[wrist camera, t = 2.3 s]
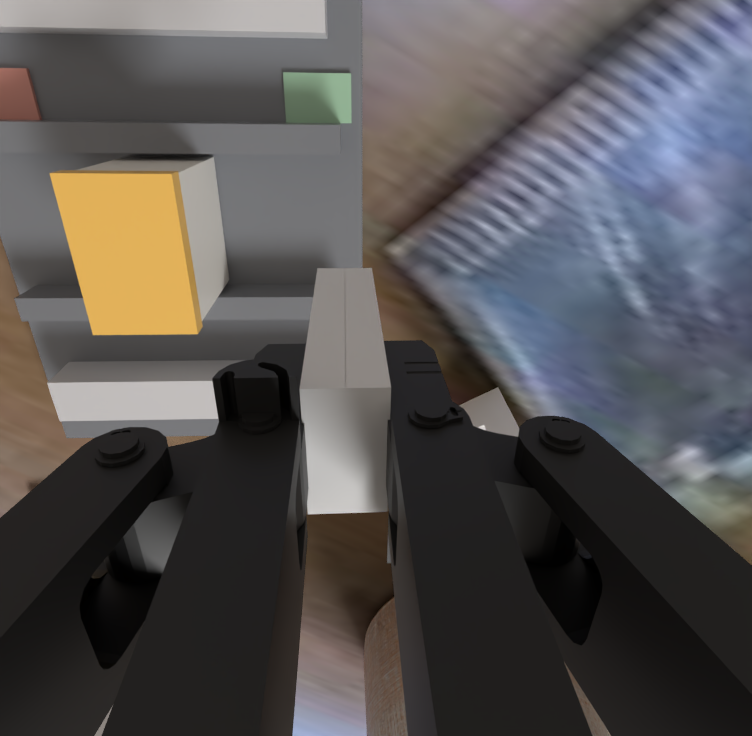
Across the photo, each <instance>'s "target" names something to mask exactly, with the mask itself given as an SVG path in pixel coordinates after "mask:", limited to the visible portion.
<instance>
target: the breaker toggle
mask: <svg viewBox="0 0 752 736" xmlns="http://www.w3.org/2000/svg"><path fill="white" fill-rule="evenodd" d="M50 177H51V181H52V185H53V188H54V192H55V196H56V199H57V203H58V207H59V211H60V214H61V218H62V222H63V226H64V229H65V233H66V237H67V240H68V244H69V248H70V252H71V255H72V259H73V263H74V266H75V270H76V274H77V278H78V281H79V285H80V289H81V292H82V296H83V300H84V304H85V307H86V311H87V315H88V318H89V322H90V326H91V330H92V333H93V335H170V334H198V333H199V332H200V330H201V329H202V327H203V325H202V321H203V319H204V318H205V316H206V314H207V313H208V311H209V310H210V308H211V307H212V305H213V304H214V302H215V301H216V299H217V298H218V296H219V295H220V293H221V292H222V290H223V288H224V287H225V285H226V284H227V282H228V281H229V273H228V265H227V257H226V250H225V242H224V234H223V226H222V218H221V210H220V202H219V194H218V186H217V178H216V170H215V162H214V157H165V156H126V157H122V158H119V159H115V160H111V161H108V162H104V163H100V164H96V165H93V166H89V167H85V168H82V169H78V170H60V171H56V172H52V173H50Z"/></svg>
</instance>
